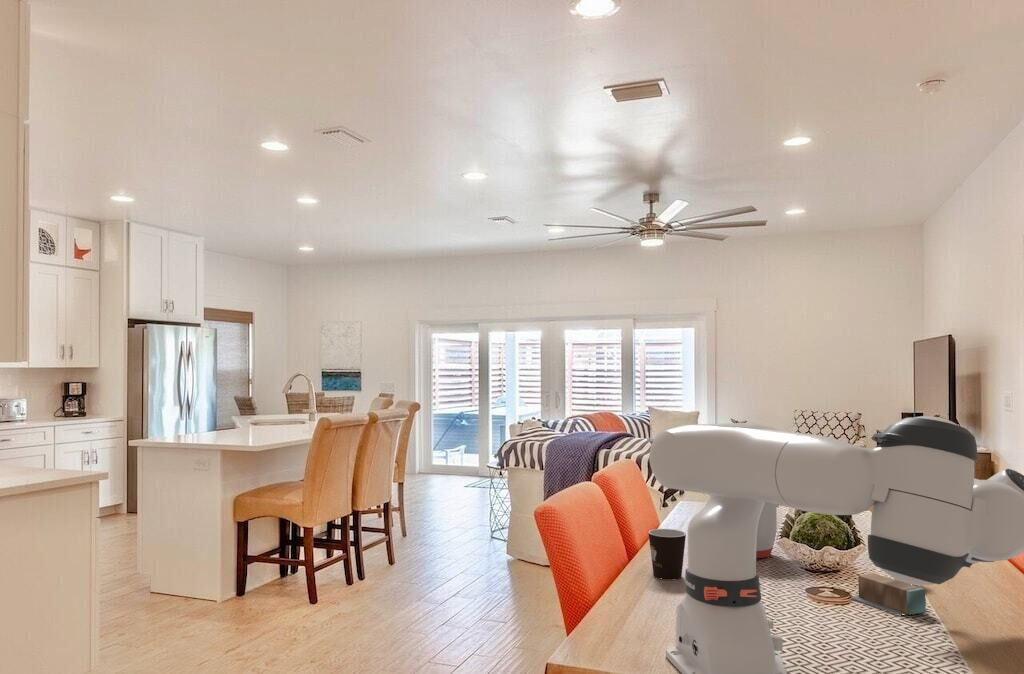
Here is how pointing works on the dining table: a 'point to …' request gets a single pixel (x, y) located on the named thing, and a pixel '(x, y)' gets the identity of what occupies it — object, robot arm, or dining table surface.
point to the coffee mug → (667, 552)
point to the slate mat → (876, 605)
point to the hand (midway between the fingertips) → (918, 574)
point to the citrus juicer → (766, 530)
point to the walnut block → (892, 593)
